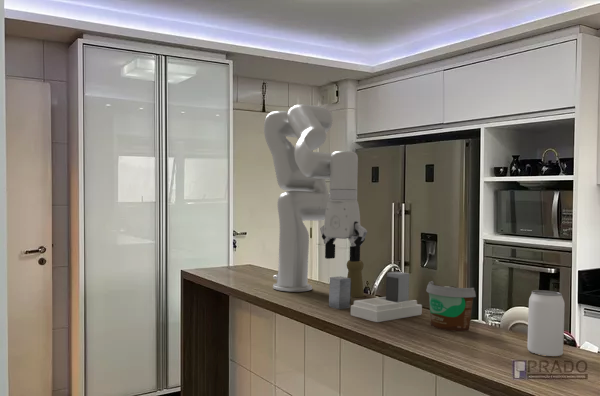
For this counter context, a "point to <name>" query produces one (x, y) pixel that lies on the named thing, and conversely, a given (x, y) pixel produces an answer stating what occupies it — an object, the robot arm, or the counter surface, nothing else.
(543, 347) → the can
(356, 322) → the counter surface
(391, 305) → the white stepped block base
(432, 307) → the food container
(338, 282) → the upright gray prism
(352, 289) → the cork
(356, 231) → the robot arm
